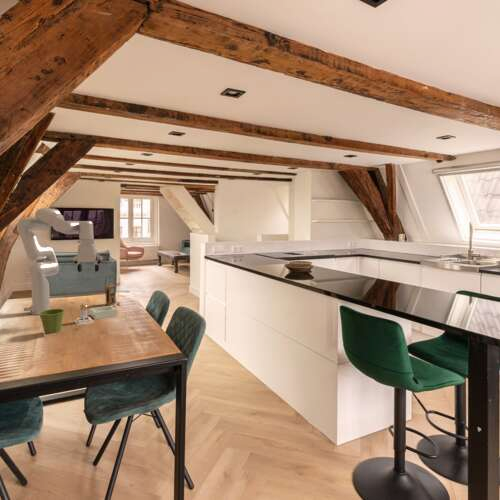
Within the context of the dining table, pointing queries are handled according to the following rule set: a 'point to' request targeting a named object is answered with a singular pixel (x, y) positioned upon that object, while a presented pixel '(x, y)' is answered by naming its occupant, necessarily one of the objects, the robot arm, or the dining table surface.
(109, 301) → the multimeter
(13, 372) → the dining table surface
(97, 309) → the white open box
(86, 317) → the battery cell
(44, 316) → the plant pot
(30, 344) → the dining table surface
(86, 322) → the checker cradle
